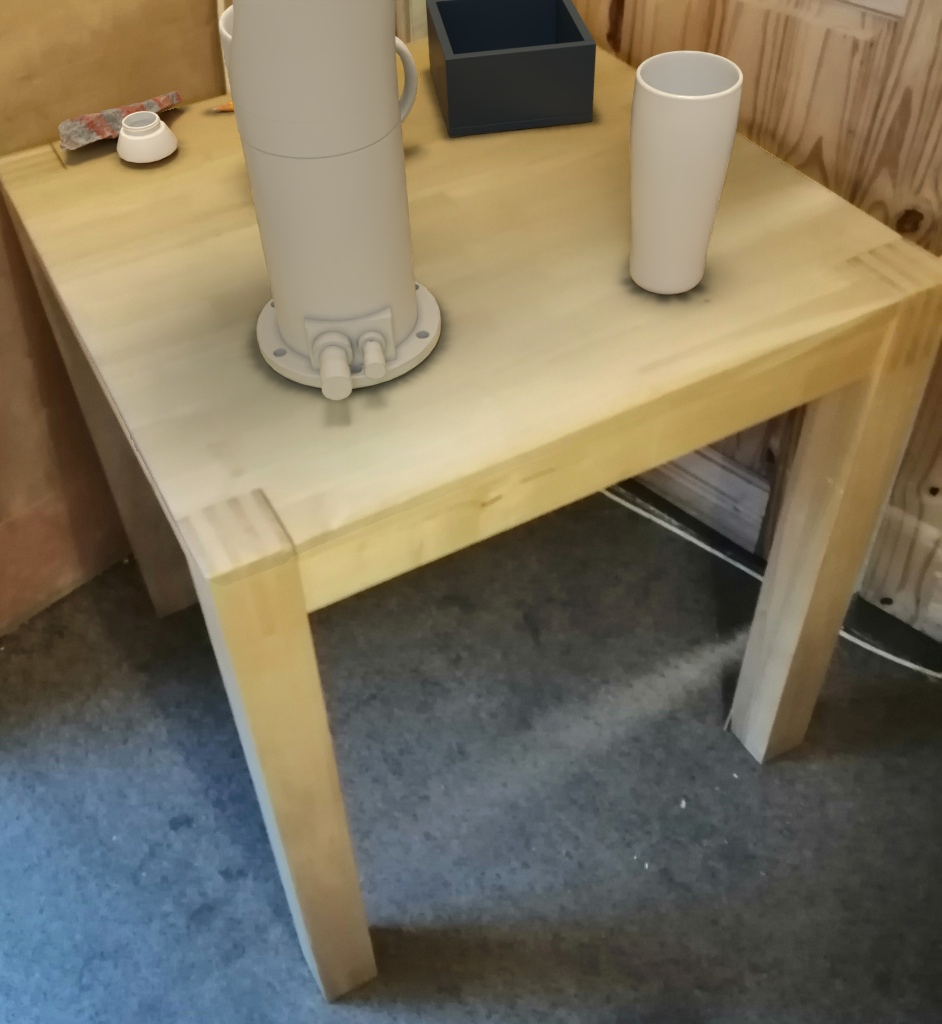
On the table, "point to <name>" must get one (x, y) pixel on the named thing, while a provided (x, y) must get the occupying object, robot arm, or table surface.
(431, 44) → the bin
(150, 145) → the lidless jar
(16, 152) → the table surface
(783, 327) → the table surface
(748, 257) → the table surface
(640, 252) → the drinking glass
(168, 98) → the stone
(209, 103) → the table surface
